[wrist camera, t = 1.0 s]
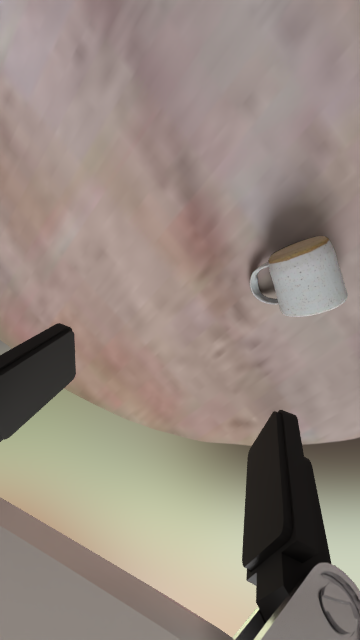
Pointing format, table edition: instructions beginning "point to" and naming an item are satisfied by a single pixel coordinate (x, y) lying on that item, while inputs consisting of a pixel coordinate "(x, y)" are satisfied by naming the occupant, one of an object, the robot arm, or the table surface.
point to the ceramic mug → (304, 278)
